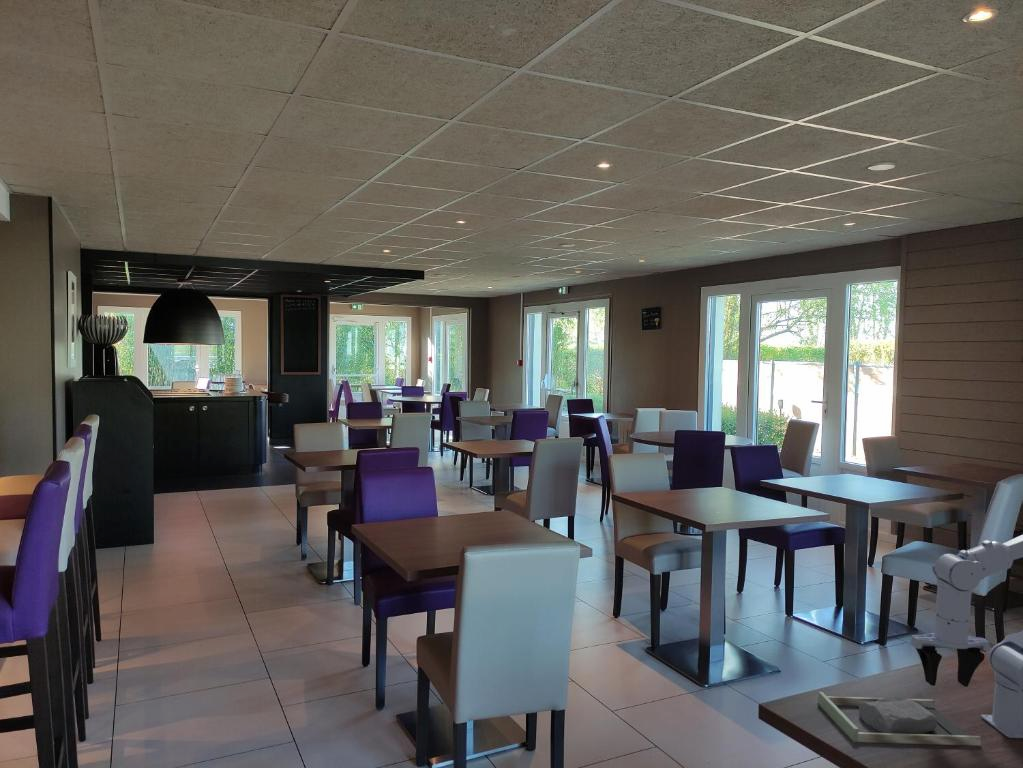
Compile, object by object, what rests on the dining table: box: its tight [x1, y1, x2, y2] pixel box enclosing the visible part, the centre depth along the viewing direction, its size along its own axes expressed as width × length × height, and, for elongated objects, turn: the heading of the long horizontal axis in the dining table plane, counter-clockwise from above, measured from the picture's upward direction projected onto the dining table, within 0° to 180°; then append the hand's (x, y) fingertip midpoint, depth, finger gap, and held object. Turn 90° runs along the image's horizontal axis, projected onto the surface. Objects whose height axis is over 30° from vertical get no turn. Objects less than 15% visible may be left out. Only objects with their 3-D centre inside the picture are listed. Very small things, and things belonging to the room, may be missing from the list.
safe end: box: [817, 691, 859, 743], centre depth 141 cm, size 1×14×2 cm, turn 2°
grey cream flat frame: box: [826, 695, 982, 746], centre depth 142 cm, size 24×14×2 cm, turn 92°
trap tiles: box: [925, 707, 969, 736], centre depth 142 cm, size 7×12×1 cm, turn 2°
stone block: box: [858, 696, 938, 734], centre depth 141 cm, size 12×5×10 cm
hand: (946, 683), depth 142 cm, fingers open, 6 cm apart
